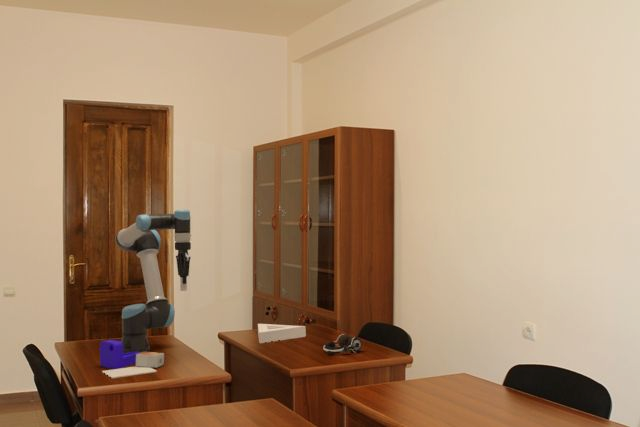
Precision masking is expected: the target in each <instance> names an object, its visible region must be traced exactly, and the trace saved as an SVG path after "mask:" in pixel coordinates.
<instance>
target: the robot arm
mask: <svg viewBox="0 0 640 427" xmlns="http://www.w3.org/2000/svg"><path fill="white" fill-rule="evenodd" d="M157 230H161V231H162V230H174V250H175V251H177V255H175V258H176V259H175V260H176V265H177V267H176V268H177V275H178V276H179V281H180V284H179V287H180V288H179V290H180V292H184V291H187V290H188V286H187V285H188V279H187V278H188V276H189V275H190V262H191V256H189V253H188V252H189V251H190V250H191V248H192V243H191V242H190V241H191V237H192V234H191V212H190V210H189V209H175V210H174V213H161V214H160V213H158V214H156V213H155V214H153V213H152V214H150V213H149V214H146V213H144V214H139V215H137V216H136V218H135V222H134V223H133V224H131V225H130V226H129V227H127V228H122V229H121V230H119V231H118V232H117V233H116V235H115V236H114V237H115V238H114V241H115V244H116V246H117V247H118V248H119V249H120V250H121V251H124V252H128V253H129V252H135V254H136V257H138V258H139V259H140V265H141V271H142V276H143V282H144V286H145V287H144V288H145V292H146V297H147V301H146V303H135V304H130V305H126V306H124V307H122V311H121V330H122V332H121V336H122V337H121V339H120V340H121V341H120V342H122V344H123V353H130V352H140V353H141V352H151V351H150V349H151V348H150V347H151V346H150V343H149V340H148V337H147V330H150V329H158V328H167V327H171V325H172V324H173V323H174V319H175V316H176V315H175V306H174V305H173V304H172V303H169V300H168V298H167V297H165V294H164V288H163V287H164V286H163V284H162V278H161V274H160V272H161V271H160V268H159V261H158V257H157V255H158V253H159V252H160V251H159V250H160V249H161V247H162V246H161V245H162V244H161V243H162V240H161V239H162V238H161V236H160V233H159V232H158V231H157Z"/></svg>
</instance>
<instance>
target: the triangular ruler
mask: <svg viewBox="0 0 640 427" xmlns="http://www.w3.org/2000/svg"><path fill="white" fill-rule="evenodd" d="M306 331H307V330H306V326H305V325H288V324H269V323H257V336H258V342H259V343H260V344H265V342H266V343H272V342H271V341H273V342H279V341H278V340H280V341H285V340H291V339H300V338H305V337H307V332H306Z"/></svg>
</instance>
